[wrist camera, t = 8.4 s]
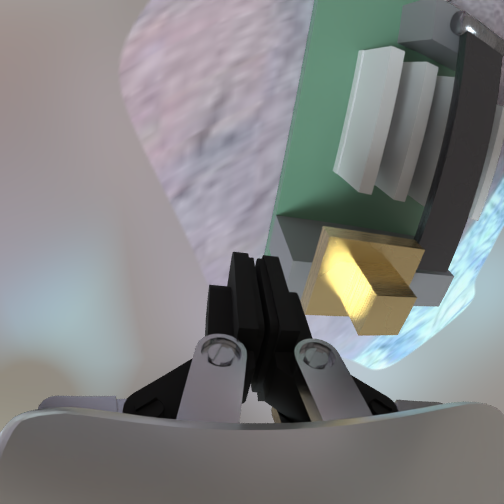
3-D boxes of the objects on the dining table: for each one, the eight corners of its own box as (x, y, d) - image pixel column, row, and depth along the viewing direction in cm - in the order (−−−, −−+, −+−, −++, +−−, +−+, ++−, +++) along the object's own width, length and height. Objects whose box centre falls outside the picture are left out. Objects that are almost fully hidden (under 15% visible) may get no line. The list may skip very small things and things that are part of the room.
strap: (451, 12, 10) (468, 8, 9) (488, 37, 11) (506, 37, 9) (397, 256, 17) (410, 270, 15) (435, 261, 17) (449, 274, 16)
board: (321, -37, 13) (360, -78, 7) (490, 46, 15) (550, 51, 9) (261, 266, 23) (274, 328, 17) (423, 280, 25) (460, 328, 20)
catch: (322, 225, 13) (350, 269, 10) (414, 239, 14) (452, 278, 11) (300, 301, 15) (316, 352, 12) (386, 305, 16) (413, 349, 13)
